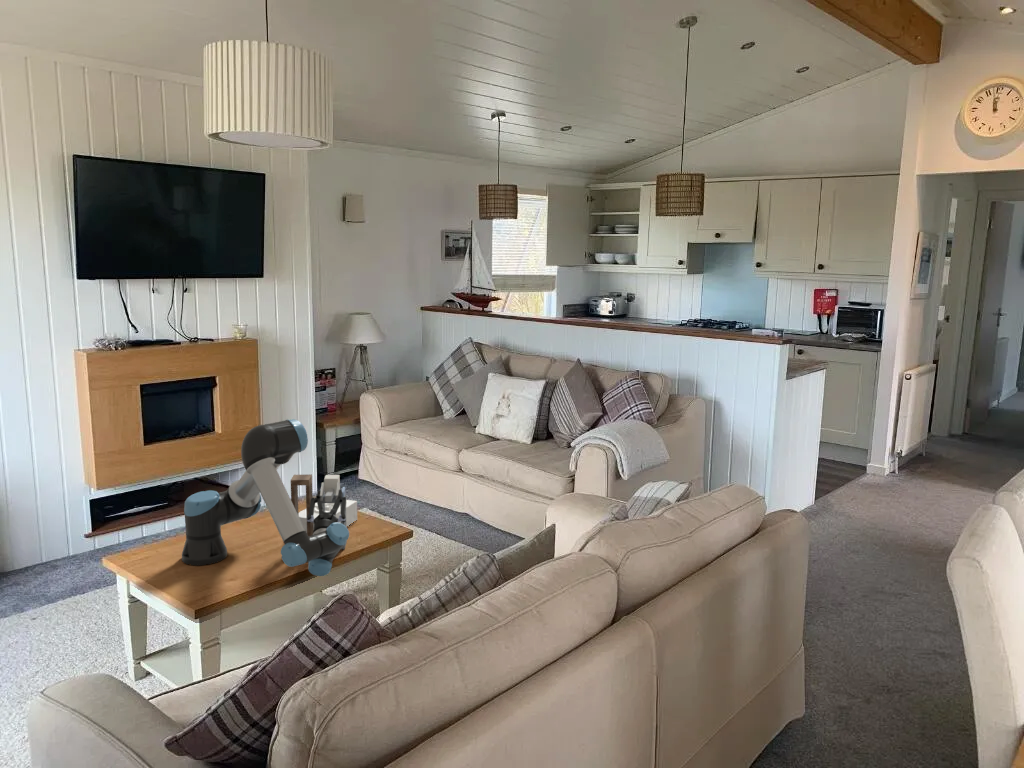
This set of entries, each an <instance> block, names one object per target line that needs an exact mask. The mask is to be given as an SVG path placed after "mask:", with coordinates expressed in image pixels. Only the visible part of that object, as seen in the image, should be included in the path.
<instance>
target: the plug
mask: <svg viewBox="0 0 1024 768" xmlns="http://www.w3.org/2000/svg"><path fill="white" fill-rule="evenodd" d="M340 477H341V476H340V474H326V475H325V476H324V479H323V482H324V494H325V502H332V499H333V497H334V494H336V490H337V482H340V483H341V481H340V480H341V479H340Z"/></svg>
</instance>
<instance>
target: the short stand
mask: <svg viewBox="0 0 1024 768" xmlns="http://www.w3.org/2000/svg"><path fill="white" fill-rule="evenodd" d="M346 487H347V486H343V487H342V489H341V490H342V497H346V498H347V495H346V493H347V492H346V491H347V490H346ZM320 490H321V488H320ZM335 501H336V494H334V497H333V499H332V502H325V493H324V495H323V501H321V505H322V510H323V512H325V503H335ZM341 506H342V503H341V504H340V509H341ZM345 518H346V510H345ZM341 523H342V524H344V525H345V526H346V522H342V521H341ZM347 542H348V540H347V541H346V543H345V545H344V546H343V547H342V548H341V550H345V549H346V546H347V544H348V543H347Z"/></svg>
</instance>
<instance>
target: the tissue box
mask: <svg viewBox="0 0 1024 768" xmlns="http://www.w3.org/2000/svg"><path fill="white" fill-rule="evenodd" d="M334 504H335V503H325V512H330V511H331V509H332V508H333V506H334ZM298 514H299V518H300V520H301V522H302V524H303V526H304V528H305V530H306V533H307V513H306V508H304V509H303V510H300V511H298ZM318 515H319V510H318V504H317V503H315V508H314V515H313V516H314V519H315V518H316V517H317V516H318ZM340 515H341V509H340V506H339V508H338V510H337V512H336V515H335V516H336V517H337V518H339V516H340ZM356 520H357V521H358V501H357V500H351V499H346V527H347V526H348V527H350V526H351V525H352V524H351V523H353V522H354V521H356ZM357 521H356V522H357ZM339 523H341V522H339ZM354 523H355V522H354ZM354 523H353V524H354ZM350 524H351V525H350ZM349 525H350V526H349ZM348 527H347V528H348ZM313 531H314V523H313Z"/></svg>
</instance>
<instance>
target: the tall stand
mask: <svg viewBox="0 0 1024 768" xmlns="http://www.w3.org/2000/svg"><path fill="white" fill-rule="evenodd" d="M298 486H305V507H306V508H305V509H306V513H307V516H308V514H309V510H310V503H311V498H314V496H313V474H293V476H292V477H291V479H290V499H291V501H292V503H293V505H294V507H295V510H296V512H297V514H298V513H299V491H298V490H299V488H298ZM298 516H299V514H298ZM307 534H308V536H311V535H313V522H310V523H307Z"/></svg>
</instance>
